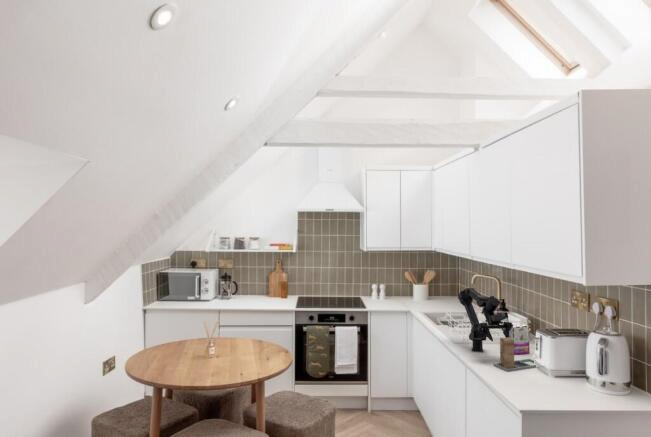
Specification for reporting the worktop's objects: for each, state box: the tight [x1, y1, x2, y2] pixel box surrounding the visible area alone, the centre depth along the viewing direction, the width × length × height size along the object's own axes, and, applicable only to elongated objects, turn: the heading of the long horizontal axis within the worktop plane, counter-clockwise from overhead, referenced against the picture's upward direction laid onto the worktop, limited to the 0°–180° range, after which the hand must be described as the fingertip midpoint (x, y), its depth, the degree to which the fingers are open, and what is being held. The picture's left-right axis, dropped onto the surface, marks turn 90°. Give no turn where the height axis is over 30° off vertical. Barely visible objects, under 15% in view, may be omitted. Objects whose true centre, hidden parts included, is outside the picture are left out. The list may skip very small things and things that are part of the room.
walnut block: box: [499, 337, 515, 369], centre depth 222 cm, size 5×5×15 cm
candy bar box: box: [509, 323, 531, 356], centre depth 249 cm, size 11×5×16 cm, turn 105°
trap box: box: [493, 358, 536, 373], centre depth 225 cm, size 25×10×2 cm, turn 111°
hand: (500, 340), depth 229 cm, fingers open, 9 cm apart
